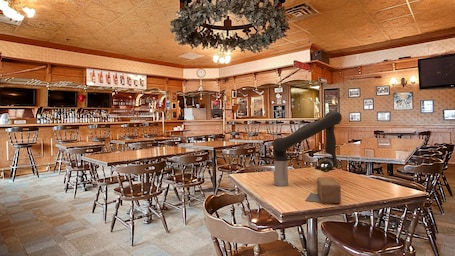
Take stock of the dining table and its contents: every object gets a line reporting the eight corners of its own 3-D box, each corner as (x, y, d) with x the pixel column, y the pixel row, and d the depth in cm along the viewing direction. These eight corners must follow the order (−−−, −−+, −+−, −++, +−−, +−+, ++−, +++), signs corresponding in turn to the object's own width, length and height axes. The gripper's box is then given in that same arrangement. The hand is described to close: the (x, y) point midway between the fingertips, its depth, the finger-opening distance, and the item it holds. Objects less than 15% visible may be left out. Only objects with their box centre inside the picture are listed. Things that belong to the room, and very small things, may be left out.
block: (334, 193, 161) (341, 203, 142) (317, 193, 163) (321, 202, 144) (334, 177, 161) (340, 184, 142) (316, 176, 163) (321, 184, 144)
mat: (305, 201, 149) (305, 200, 149) (310, 193, 164) (310, 192, 164) (332, 204, 143) (332, 203, 143) (335, 196, 158) (335, 195, 158)
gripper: (315, 159, 180) (311, 163, 165) (337, 160, 174) (334, 164, 159) (316, 170, 180) (311, 175, 165) (337, 171, 174) (334, 176, 159)
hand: (322, 169), depth 162 cm, fingers closed
